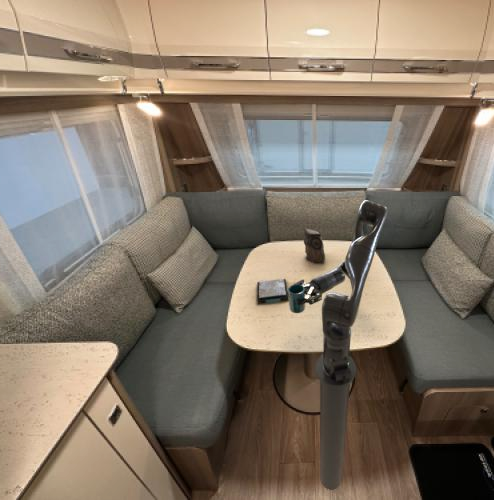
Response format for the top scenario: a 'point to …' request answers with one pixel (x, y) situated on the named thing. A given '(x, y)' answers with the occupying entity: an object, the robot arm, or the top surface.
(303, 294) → the cup
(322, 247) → the owl
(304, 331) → the top surface
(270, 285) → the scale
